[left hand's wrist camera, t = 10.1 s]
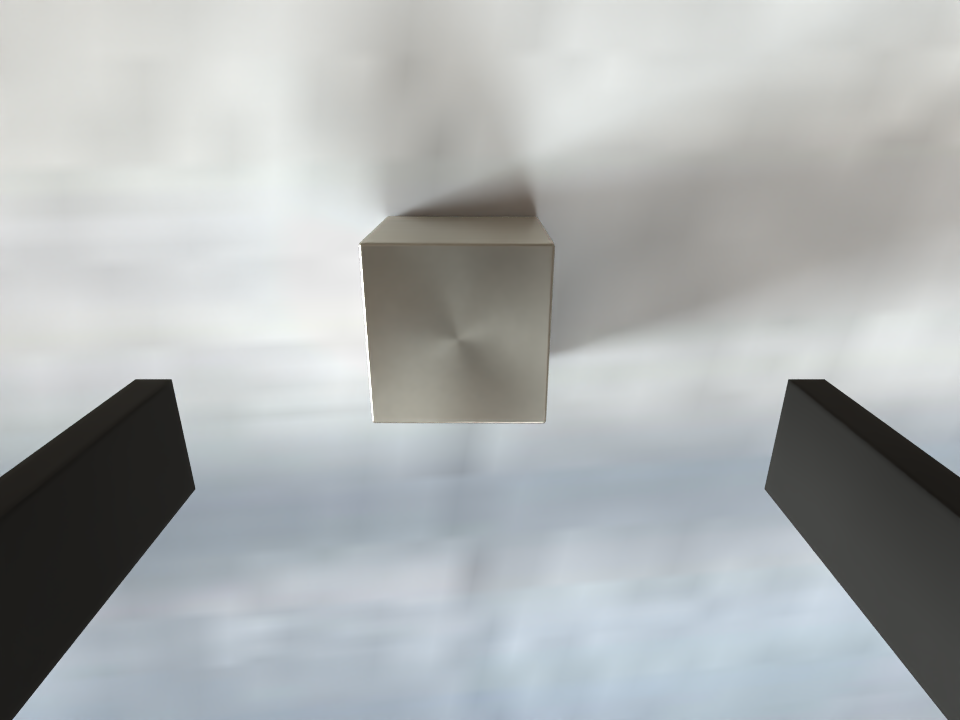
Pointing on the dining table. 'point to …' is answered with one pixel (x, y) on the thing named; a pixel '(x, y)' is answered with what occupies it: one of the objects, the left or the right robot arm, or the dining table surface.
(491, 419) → the block
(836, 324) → the dining table surface
